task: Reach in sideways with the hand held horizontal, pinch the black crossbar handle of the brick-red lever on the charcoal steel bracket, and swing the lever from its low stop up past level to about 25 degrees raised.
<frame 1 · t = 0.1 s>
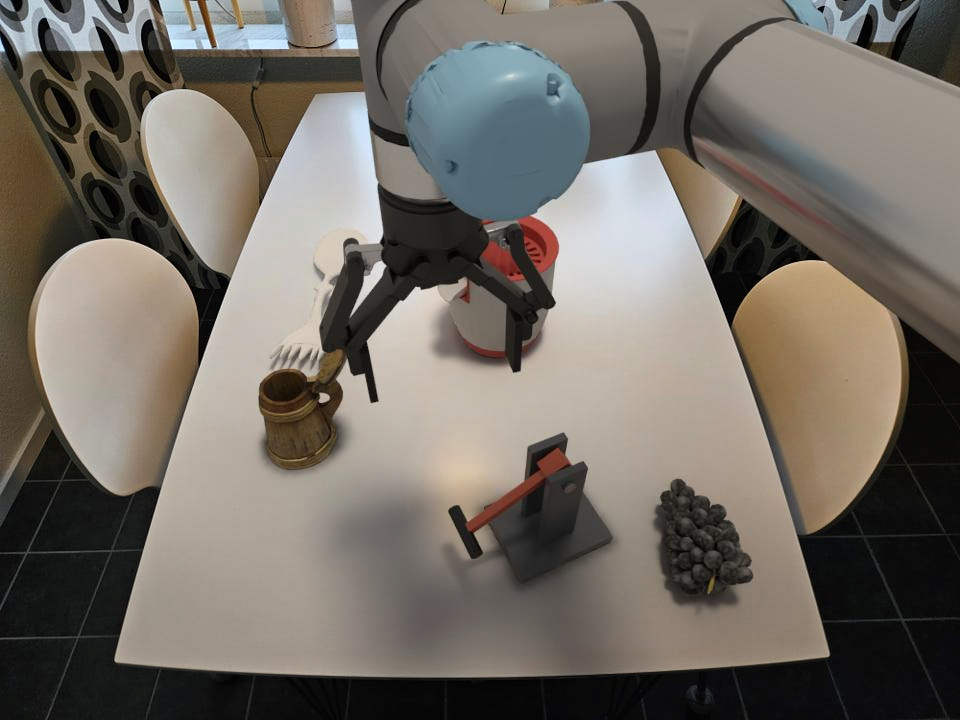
hand: (443, 376, 61), 25 cm above the table, tool pointing down, fingers open, 13 cm apart
bracket: (546, 526, 78), on the table
wooden mug: (319, 440, 86), on the table
fruit: (691, 547, 76), on the table
citrus juicer: (493, 334, 100), on the table
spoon: (327, 300, 105), on the table
lever: (512, 497, 68), point 10 cm above the table, hinge at -28.0°
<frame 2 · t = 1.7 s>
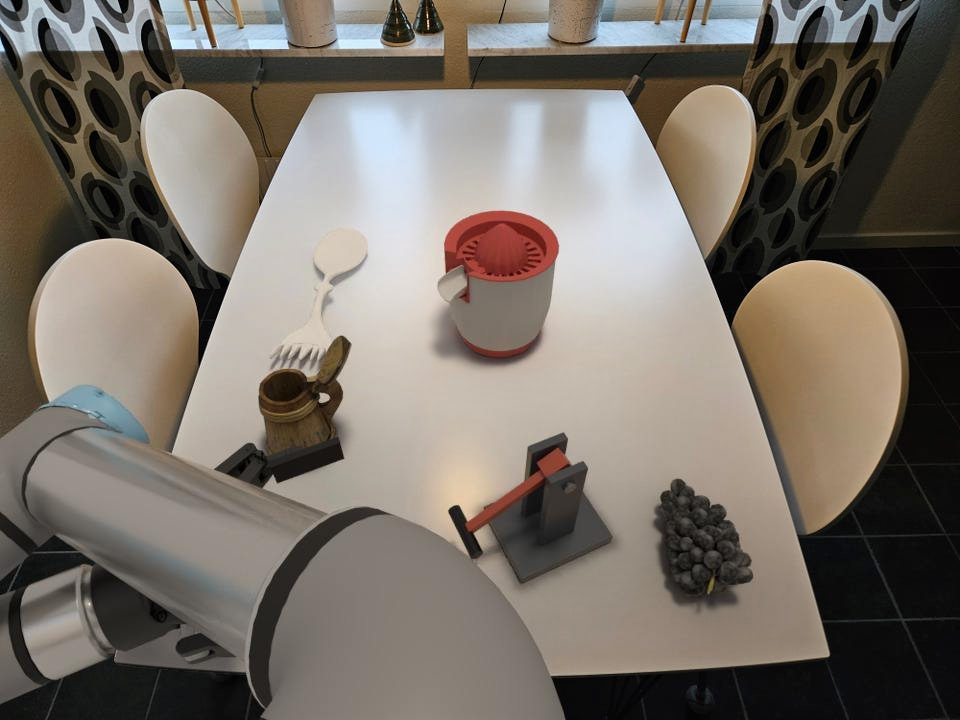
hand: (364, 505, 57), 20 cm above the table, tool horizontal, fingers open, 13 cm apart
nothing on the table moved.
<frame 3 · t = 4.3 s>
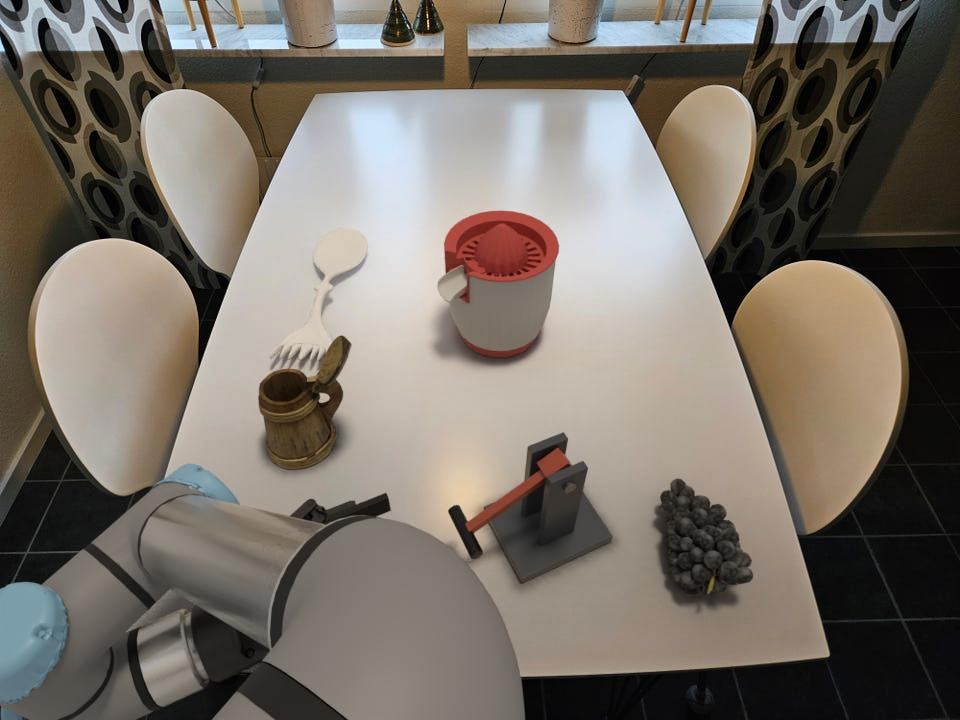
hand: (411, 553, 67), 7 cm above the table, tool horizontal, fingers open, 13 cm apart
nothing on the table moved.
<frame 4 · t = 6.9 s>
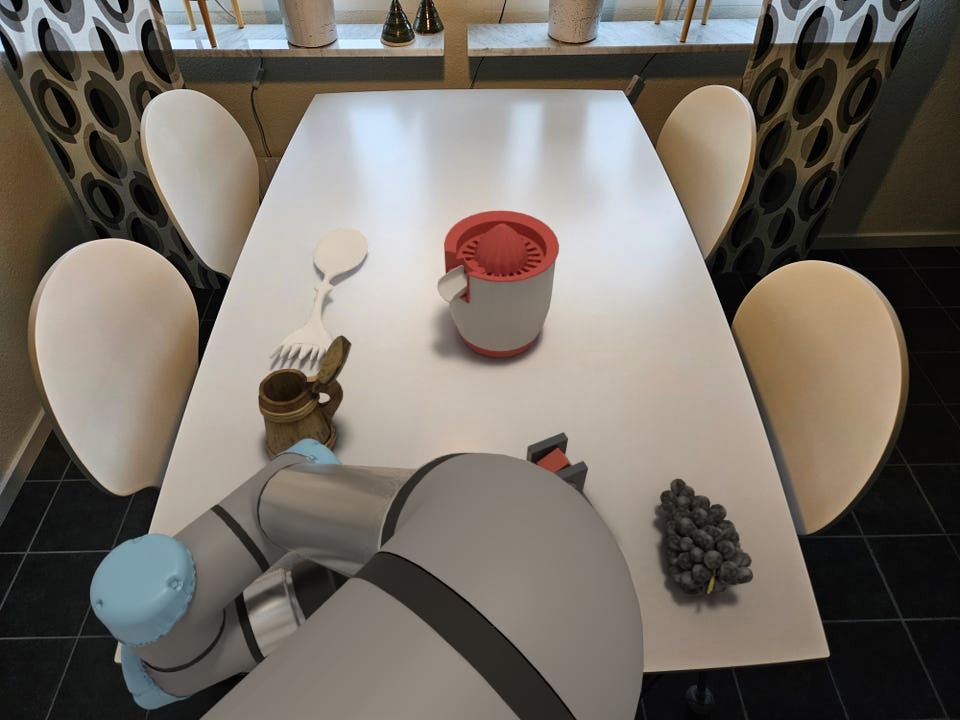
hand: (507, 513, 70), 7 cm above the table, tool horizontal, fingers closed on lever, 6 cm apart
lever: (512, 497, 68), point 10 cm above the table, hinge at -28.0°, touching gripper
everything else where it was.
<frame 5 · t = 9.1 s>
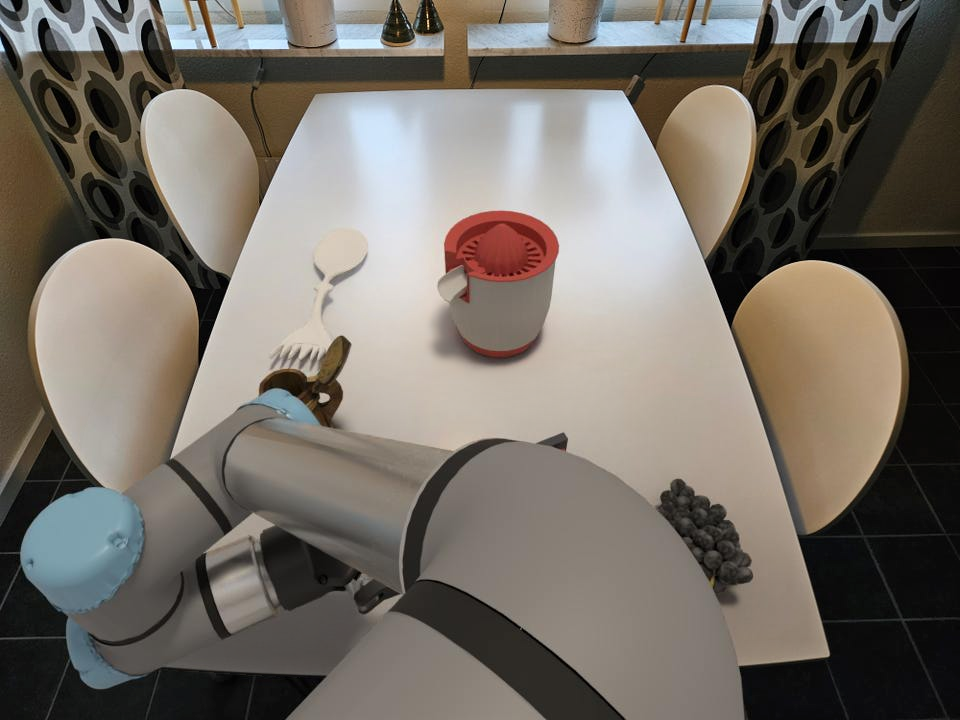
hand: (500, 477, 64), 15 cm above the table, tool horizontal, fingers closed on lever, 6 cm apart
lever: (508, 482, 66), point 14 cm above the table, hinge at 7.7°, touching gripper
everything else where it was.
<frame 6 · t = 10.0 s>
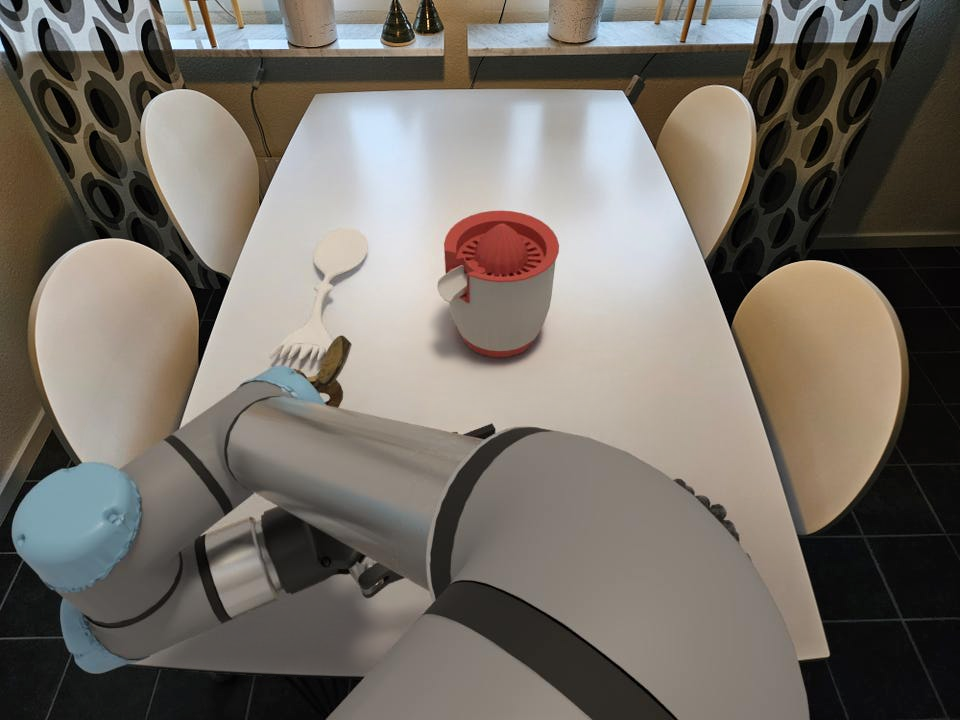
hand: (508, 459, 63), 18 cm above the table, tool horizontal, fingers closed on lever, 6 cm apart
lever: (511, 474, 65), point 15 cm above the table, hinge at 20.3°, touching gripper
everything else where it was.
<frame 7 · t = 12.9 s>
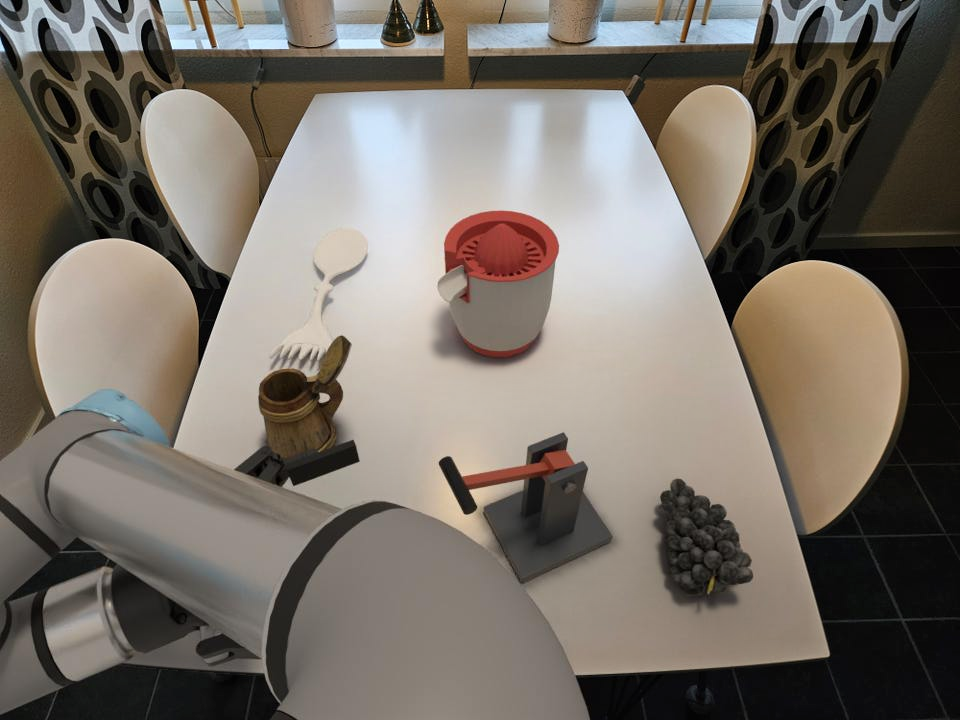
hand: (380, 508, 57), 19 cm above the table, tool horizontal, fingers open, 13 cm apart
lever: (511, 474, 65), point 15 cm above the table, hinge at 20.4°
everything else where it was.
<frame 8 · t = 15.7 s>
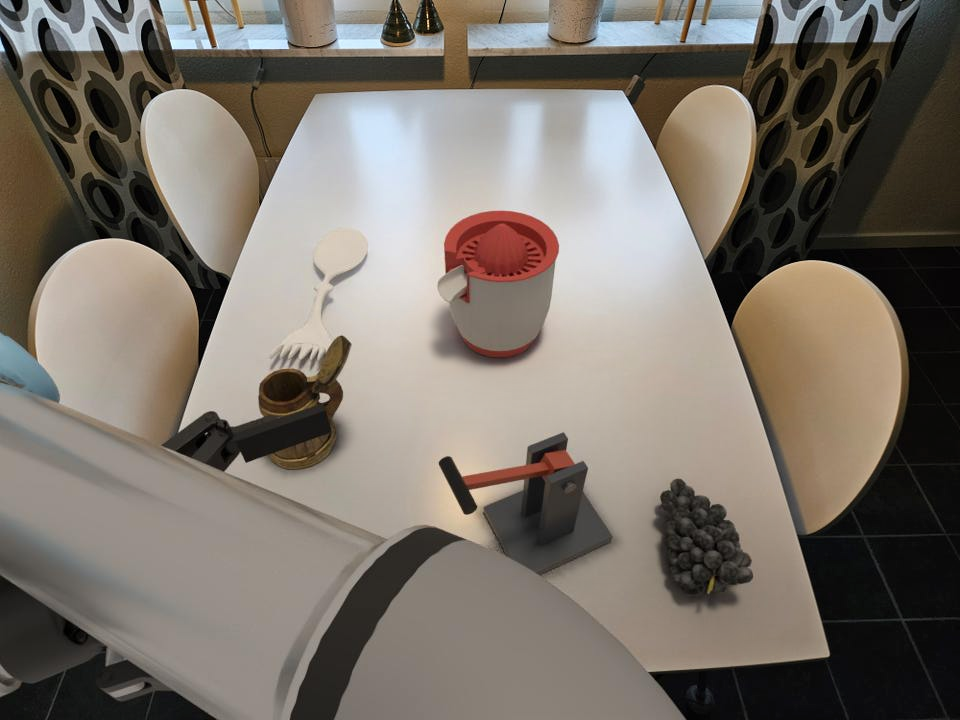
hand: (356, 489, 44), 32 cm above the table, tool horizontal, fingers open, 13 cm apart
nothing on the table moved.
at the end: lever at +20° (first picture: -28°) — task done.
